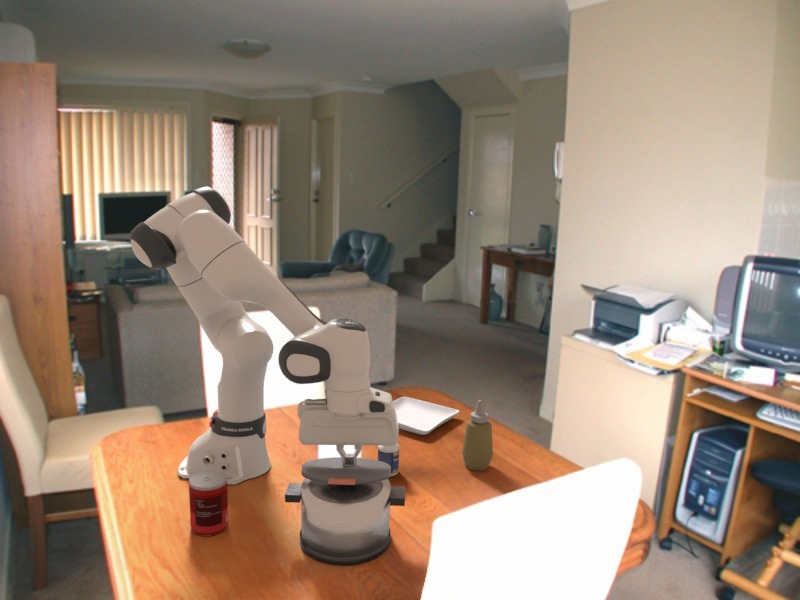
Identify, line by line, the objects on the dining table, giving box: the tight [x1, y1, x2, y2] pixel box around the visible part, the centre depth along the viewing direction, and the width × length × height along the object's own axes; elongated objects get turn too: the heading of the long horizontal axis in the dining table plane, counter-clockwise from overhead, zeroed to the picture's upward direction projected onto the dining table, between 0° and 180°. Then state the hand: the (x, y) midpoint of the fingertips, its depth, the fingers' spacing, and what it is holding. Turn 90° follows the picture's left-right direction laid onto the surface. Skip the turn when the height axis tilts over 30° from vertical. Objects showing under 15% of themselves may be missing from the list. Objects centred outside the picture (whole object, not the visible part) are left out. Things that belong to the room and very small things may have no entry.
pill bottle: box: [377, 442, 400, 477], centre depth 164 cm, size 5×5×10 cm
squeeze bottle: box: [461, 399, 494, 472], centre depth 168 cm, size 8×8×18 cm
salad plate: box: [392, 396, 460, 436], centre depth 199 cm, size 21×21×3 cm
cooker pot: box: [284, 477, 406, 567], centre depth 134 cm, size 24×20×12 cm
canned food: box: [188, 471, 229, 537], centre depth 137 cm, size 8×8×11 cm
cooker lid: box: [301, 456, 392, 485], centre depth 131 cm, size 18×20×2 cm
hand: (349, 463), depth 134 cm, fingers closed, pressing on cooker lid
